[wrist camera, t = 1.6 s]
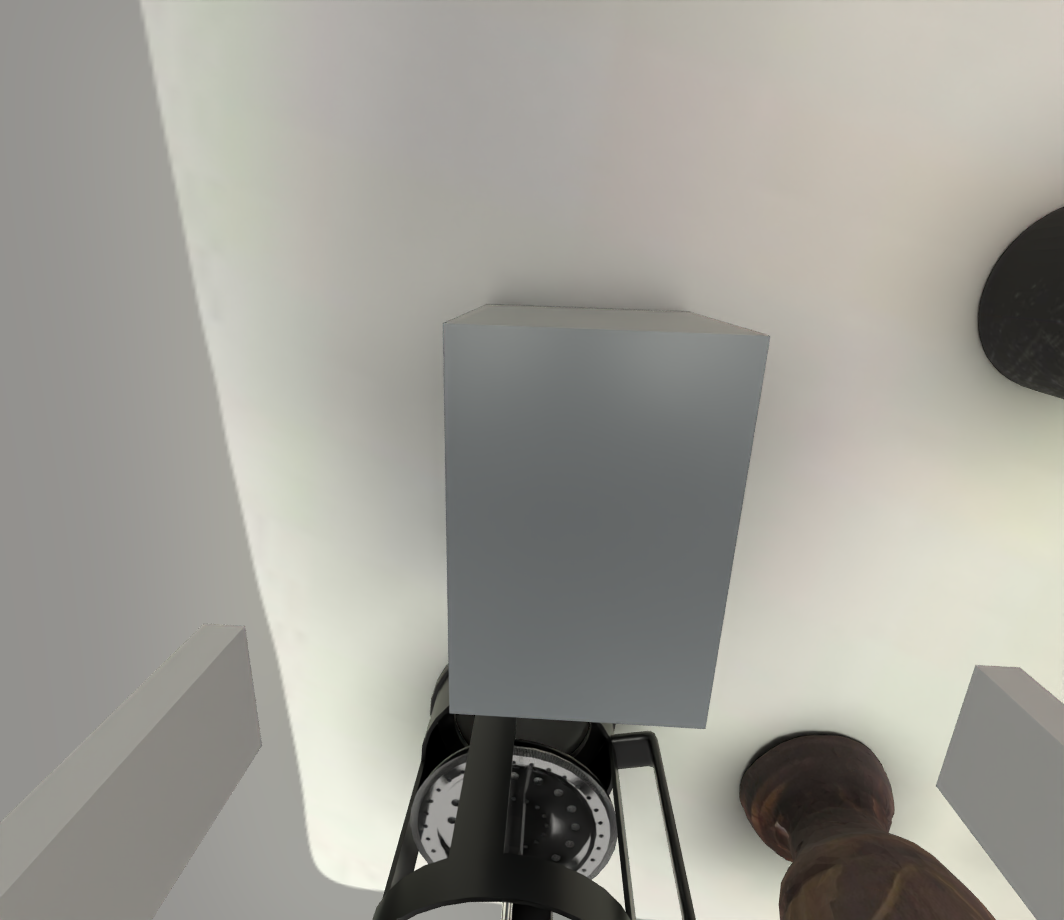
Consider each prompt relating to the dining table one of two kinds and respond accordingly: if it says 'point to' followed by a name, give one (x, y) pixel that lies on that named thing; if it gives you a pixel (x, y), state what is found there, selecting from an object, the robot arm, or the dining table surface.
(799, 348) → the dining table surface
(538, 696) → the grey rectangular block
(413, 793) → the french press
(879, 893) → the mortar and pestle
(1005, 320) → the travel mug
